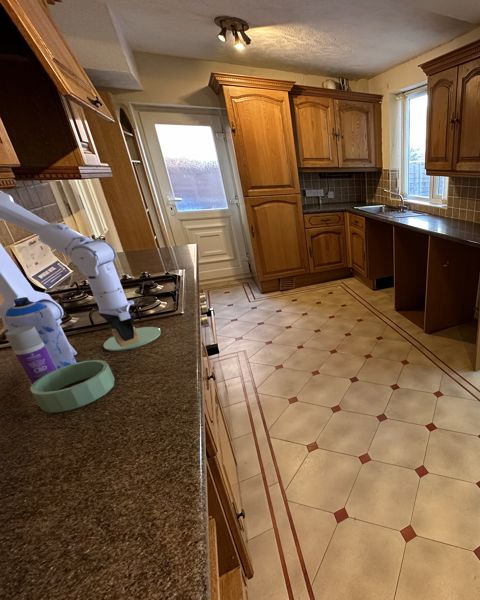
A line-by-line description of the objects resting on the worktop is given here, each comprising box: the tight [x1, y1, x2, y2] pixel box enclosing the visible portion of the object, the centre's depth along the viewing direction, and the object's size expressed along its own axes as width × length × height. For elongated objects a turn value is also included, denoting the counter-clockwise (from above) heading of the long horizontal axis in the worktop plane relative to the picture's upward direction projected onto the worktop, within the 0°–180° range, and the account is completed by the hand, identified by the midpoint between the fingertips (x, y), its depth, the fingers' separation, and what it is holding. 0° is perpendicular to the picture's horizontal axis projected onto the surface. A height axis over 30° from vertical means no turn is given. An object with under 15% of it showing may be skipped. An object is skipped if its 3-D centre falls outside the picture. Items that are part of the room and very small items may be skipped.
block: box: [111, 327, 139, 347], centre depth 86 cm, size 4×4×4 cm
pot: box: [29, 359, 116, 414], centre depth 73 cm, size 13×13×5 cm
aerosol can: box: [4, 297, 77, 369], centre depth 79 cm, size 8×8×20 cm
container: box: [4, 326, 57, 386], centre depth 74 cm, size 5×5×15 cm
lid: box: [103, 325, 162, 352], centre depth 95 cm, size 14×14×5 cm
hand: (126, 337), depth 86 cm, fingers closed on block, 4 cm apart
